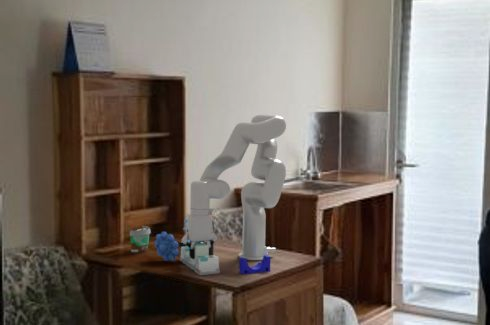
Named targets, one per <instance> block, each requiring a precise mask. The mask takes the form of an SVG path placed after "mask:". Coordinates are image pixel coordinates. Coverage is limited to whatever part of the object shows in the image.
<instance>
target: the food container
mask: <svg viewBox="0 0 490 325" xmlns="http://www.w3.org/2000/svg"><path fill="white" fill-rule="evenodd" d="M141 227H142V228H137V229H135V230H130V231H129V237H130V251H131V252H130V253H131V254H145V253H148V251H149V241H150V234H152V232H151V228H150V227H149V226H145V225H142V226H141Z"/></svg>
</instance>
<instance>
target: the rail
mask: <svg viewBox="0 0 490 325" xmlns="http://www.w3.org/2000/svg"><path fill="white" fill-rule="evenodd" d="M179 261H180V262H181V261H182V262H183V264H184V265H185V264H186V265H185V266H186V267H188V268H189V267H190V270H192V271H193V270H194V272H195V273H196V274H198V275H199V276H204V275H205V276H206V275H216V274H220V266H219V265H220V257H219V256H217V255H215V254H213V255H211V256H197V257H196V263H194V262H193V261H191V257H190V256H189V247H188V246H187V245H186V246H181V247H180V257H179ZM182 262H181V263H182Z"/></svg>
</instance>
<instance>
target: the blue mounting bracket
mask: <svg viewBox="0 0 490 325" xmlns="http://www.w3.org/2000/svg"><path fill="white" fill-rule="evenodd" d="M238 258H239V257H238ZM238 261H239V262H238V263H239V265H238V267H239V268H238V270H239V271H238V273H239V274H241V275H248V274H250V275H251V274H257V273H266V272H271V256H270V255H269V254H268V255H263V260H261V261H258V263H256V264H255V265H253V266H249V263H248V260H247V259H245V258H243V257H241V258H239V260H238Z"/></svg>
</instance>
